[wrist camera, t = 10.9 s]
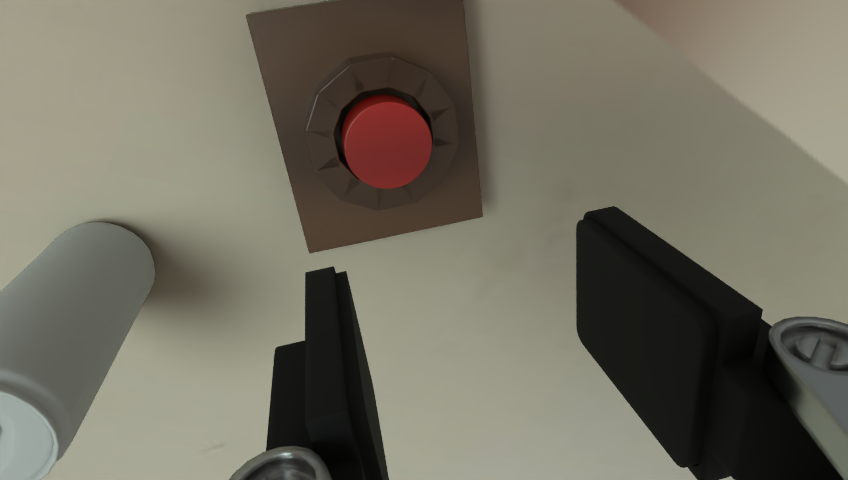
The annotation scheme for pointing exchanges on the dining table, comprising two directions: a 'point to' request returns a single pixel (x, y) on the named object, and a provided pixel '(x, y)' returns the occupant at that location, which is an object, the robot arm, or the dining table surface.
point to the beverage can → (64, 339)
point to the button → (386, 141)
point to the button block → (353, 82)
